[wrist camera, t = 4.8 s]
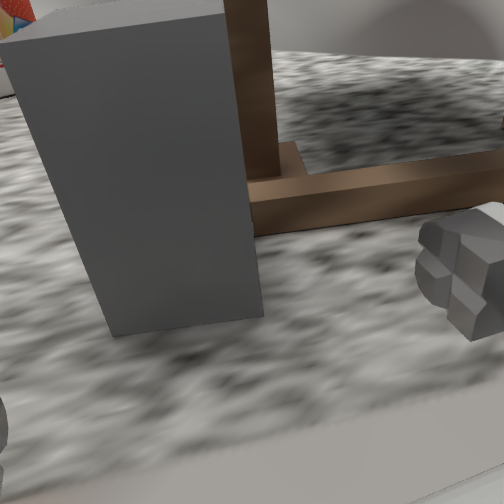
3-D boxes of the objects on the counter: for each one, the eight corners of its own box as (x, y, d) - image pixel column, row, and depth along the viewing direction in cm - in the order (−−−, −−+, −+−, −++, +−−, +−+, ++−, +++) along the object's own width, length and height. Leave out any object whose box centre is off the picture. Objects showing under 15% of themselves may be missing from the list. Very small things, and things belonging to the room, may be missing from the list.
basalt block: (112, 337, 15) (-6, 44, 10) (132, 249, 19) (56, 9, 14) (264, 316, 15) (224, 12, 10) (252, 233, 19) (219, -13, 14)
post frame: (225, 240, 19) (168, -92, 13) (221, 165, 25) (181, -87, 19) (690, 177, 19) (865, -186, 13) (575, 116, 25) (655, -151, 19)
